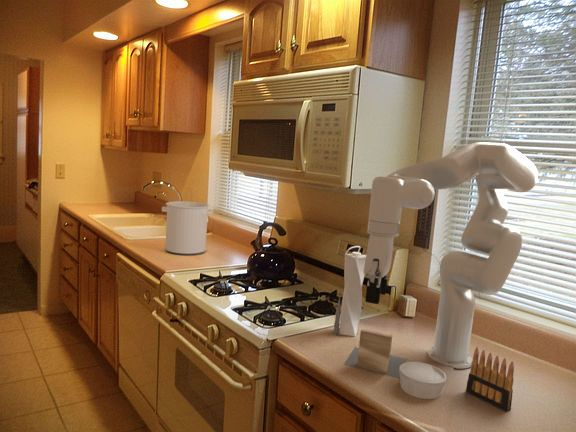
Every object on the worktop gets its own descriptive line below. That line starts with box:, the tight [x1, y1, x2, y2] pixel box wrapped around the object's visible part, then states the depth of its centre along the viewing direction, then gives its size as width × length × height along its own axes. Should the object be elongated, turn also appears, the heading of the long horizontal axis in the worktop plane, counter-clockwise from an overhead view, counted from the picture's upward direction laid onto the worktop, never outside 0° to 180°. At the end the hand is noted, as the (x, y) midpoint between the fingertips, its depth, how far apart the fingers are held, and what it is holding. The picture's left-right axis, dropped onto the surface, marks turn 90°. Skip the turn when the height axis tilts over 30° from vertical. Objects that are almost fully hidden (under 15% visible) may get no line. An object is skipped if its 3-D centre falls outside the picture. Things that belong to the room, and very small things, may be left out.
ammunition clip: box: [465, 346, 515, 413], centre depth 114 cm, size 11×2×12 cm, turn 39°
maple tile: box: [357, 327, 393, 374], centre depth 126 cm, size 2×8×10 cm, turn 68°
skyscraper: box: [333, 245, 366, 338], centre depth 148 cm, size 8×8×28 cm
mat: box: [343, 346, 408, 379], centre depth 131 cm, size 13×15×1 cm
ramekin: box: [399, 361, 448, 400], centre depth 117 cm, size 11×11×5 cm
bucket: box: [161, 200, 214, 256], centre depth 243 cm, size 26×22×24 cm
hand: (375, 297), depth 117 cm, fingers open, 8 cm apart
